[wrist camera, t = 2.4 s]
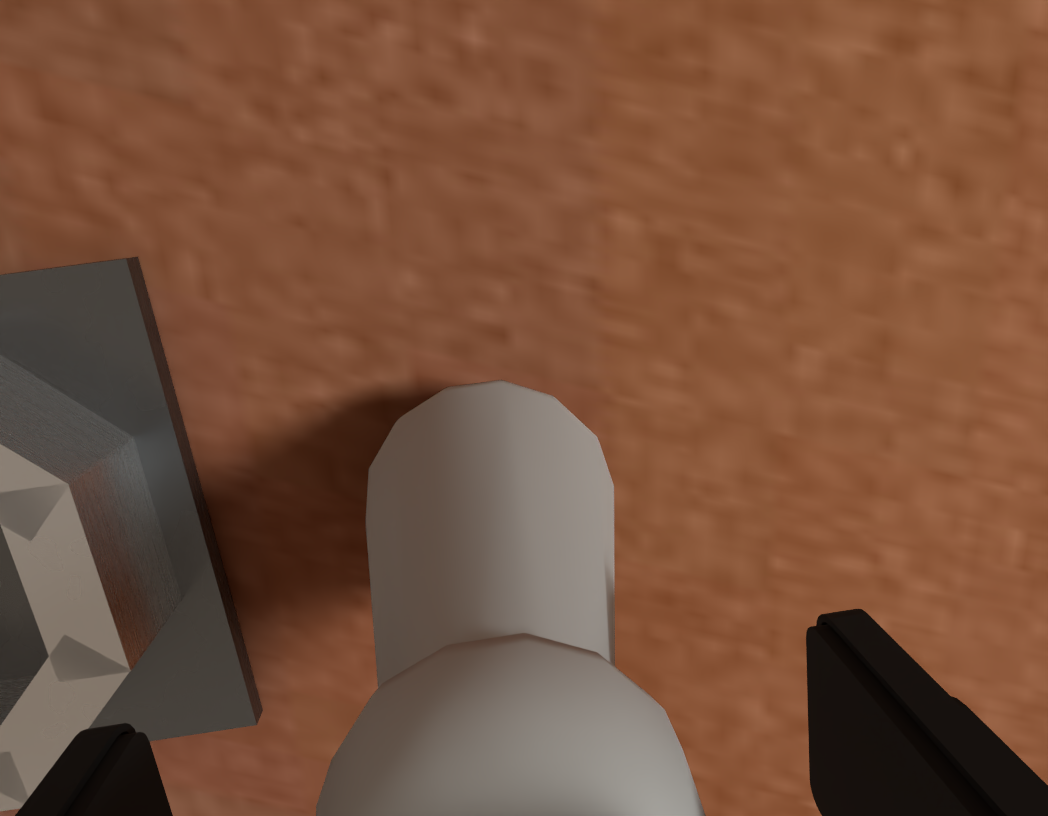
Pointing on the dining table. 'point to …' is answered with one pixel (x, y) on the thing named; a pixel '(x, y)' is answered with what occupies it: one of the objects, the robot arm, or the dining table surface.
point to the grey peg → (499, 627)
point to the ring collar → (102, 531)
